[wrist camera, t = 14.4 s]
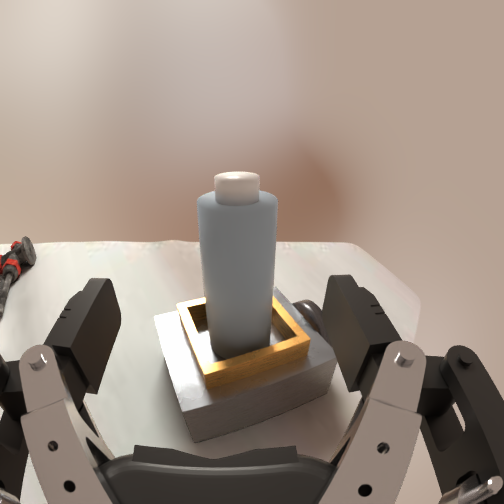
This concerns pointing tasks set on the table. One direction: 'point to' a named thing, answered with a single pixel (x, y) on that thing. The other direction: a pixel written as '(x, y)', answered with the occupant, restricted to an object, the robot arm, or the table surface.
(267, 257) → the light blue bottle
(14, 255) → the valve
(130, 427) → the table surface
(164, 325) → the gold-trimmed base block
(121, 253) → the table surface
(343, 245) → the table surface
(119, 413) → the table surface
